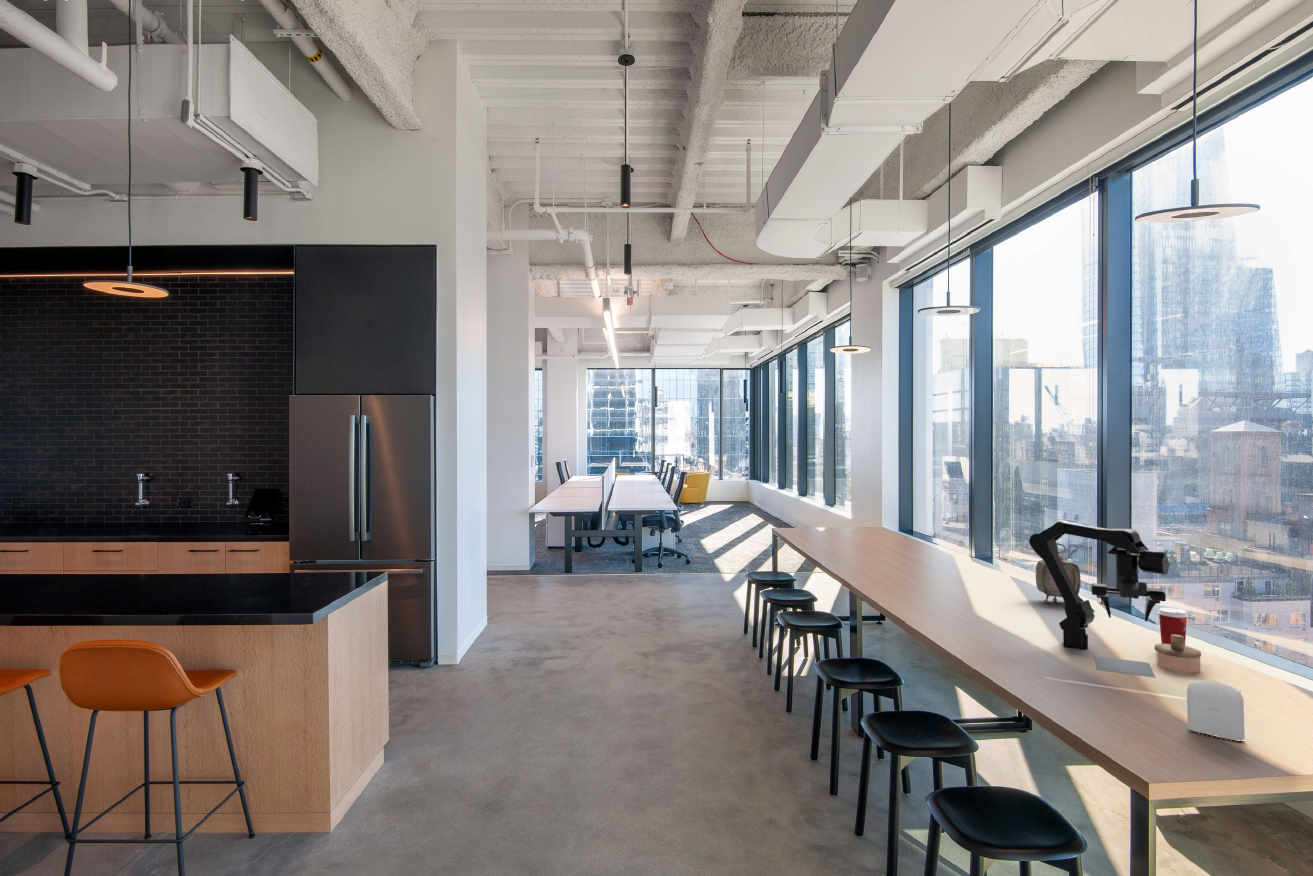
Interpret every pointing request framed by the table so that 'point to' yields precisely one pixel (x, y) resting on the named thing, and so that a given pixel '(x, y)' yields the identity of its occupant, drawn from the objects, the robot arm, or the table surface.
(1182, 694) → the table surface
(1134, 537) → the robot arm
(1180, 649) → the lid
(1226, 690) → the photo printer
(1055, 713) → the table surface
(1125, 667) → the mat
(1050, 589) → the tabletop clock
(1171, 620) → the paper cup
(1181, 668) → the bowl
